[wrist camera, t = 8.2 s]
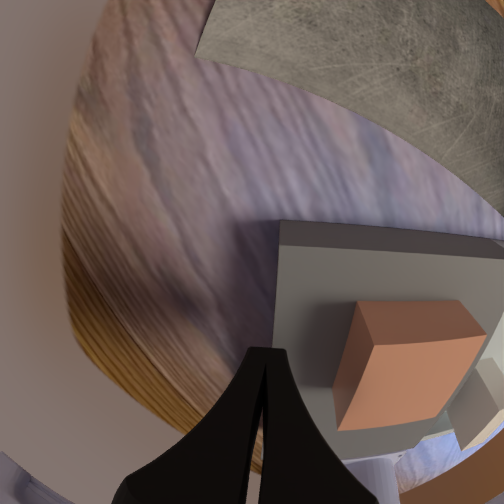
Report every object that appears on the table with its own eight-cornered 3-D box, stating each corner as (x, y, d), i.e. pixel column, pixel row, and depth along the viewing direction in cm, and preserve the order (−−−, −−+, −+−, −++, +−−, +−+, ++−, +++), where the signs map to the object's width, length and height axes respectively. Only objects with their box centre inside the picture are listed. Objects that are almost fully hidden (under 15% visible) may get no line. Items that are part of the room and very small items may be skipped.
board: (406, 420, 17) (413, 447, 14) (264, 427, 18) (260, 459, 15) (490, 238, 11) (522, 260, 8) (279, 219, 12) (279, 245, 9)
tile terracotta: (421, 381, 11) (435, 416, 9) (332, 388, 11) (337, 430, 9) (459, 300, 9) (487, 334, 7) (356, 300, 9) (374, 345, 7)
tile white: (443, 405, 15) (464, 399, 15) (461, 451, 11) (482, 442, 11) (472, 361, 13) (492, 357, 13) (499, 410, 9) (519, 401, 9)
